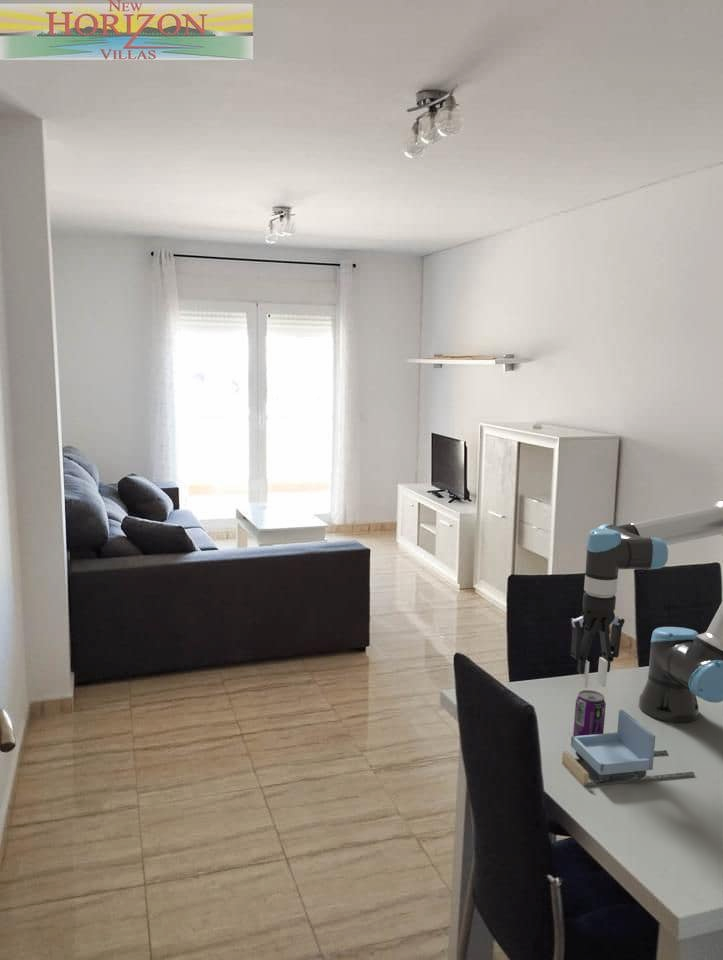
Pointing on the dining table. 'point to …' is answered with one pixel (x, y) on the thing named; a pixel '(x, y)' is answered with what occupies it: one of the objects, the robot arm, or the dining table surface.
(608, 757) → the pale blue open box
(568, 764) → the track
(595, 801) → the dining table surface
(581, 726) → the beverage can
